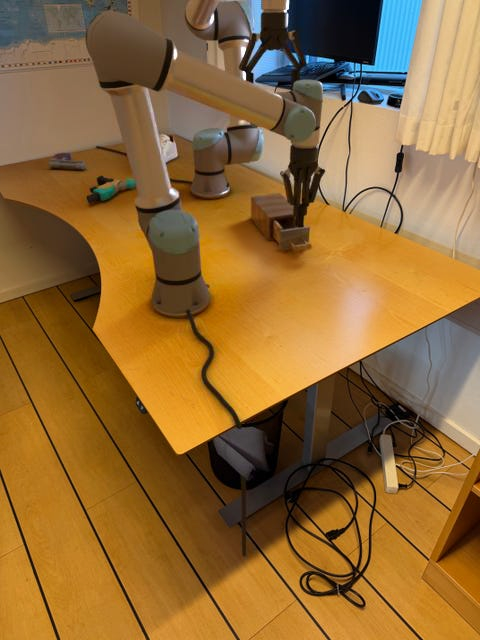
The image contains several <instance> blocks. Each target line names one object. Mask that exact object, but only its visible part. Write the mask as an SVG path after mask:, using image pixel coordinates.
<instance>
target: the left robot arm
mask: <svg viewBox="0 0 480 640" xmlns="http://www.w3.org/2000/svg"><path fill="white" fill-rule="evenodd" d="M84 37H85V39H84V41H85V46H86V50H87V53H88V55H89V56H90V58H91V60H92V63H93V67H94V70H95V74H96V77H97V81H98V84H99V87H100V90H102V91H104V92H105V93H107V94H108V95H109V97H110V101H111V104H112V107H113V111H114V113H115V119H116V121H117V125H118V129H119V132H120V135H121V139H122V141H123V146H124V149H125V153H127V155H126V156H127V160H128V163H129V167H130V170H131V174H132V177H133V179H134V181H135V184H136V186H135V187H136V191H137V196H136V197H135V199H134V205H135V210H136V213H137V218H138V220H137V222H138V225H139V228H140V231H142V233H143V234H144V237H145V239H146V241H147V244H148V246H149V248H150V250H151V254H152V260H153V261H152V262H153V268H154V274H155V275H154V276H155V281H154V284H153V290H152V294H151V305H152V308H153V310H154V311H155V312H156V313H157V314H159V315H160V316H163V317H167V318H171V319H183V318H185V319H186V318H188V320H189V323H190V326H191V329H192V331H193V334H194V335H195V336H196V337H197V338H198V340H200V341H201V342H202V343H203V344H204V345H206V346H207V348H208V350H209V354H208V357H207V359H206V361H205V362H204V364H203V365H202V369H201V380H202V381H203V384H204V385H205V386H206V388H207V389H208V390H209V391H210V392H211V393H212V394H213V395H214V396H215V397H216V398H217V400H218V401H219V402H220V404H221V405H222V406H223V407H224V408H225V409H226V410H227V411H228V413H229V414H230V415H231V417H232V419H233V421H234V424H235V427H236V429H237V430H241V429H243V428H242V427H243V426H242V423H241V420H240V418H239V415H238V414H237V412H236V410H235V409H234V408H233V406H232V405H231V404H230V403H228V401H227V400H226V399H225V398H224V397H223V395H222V394H221V393H220V392H219V391H218V390H217V389H216V388H215V387H214V386H213V385H212V384H211V383H210V381H209V379H208V377H207V370H208V367H209V365H210V364H211V362H212V361H213V359H214V355H215V350H214V346H213V344H212V343H211V341H209V340H208V339H207V338H205V336H203V335H202V334H201V333H200V332H199V330H198V328H197V326H196V323H195V320H194V318H193V317H194V316H196V315H199V314H201V313H202V312H204V311H205V310H207V308H208V307H209V306H210V303H211V294H210V290H209V289H210V286H211V285H210V284H208V283H206V281H205V278H204V277H203V275H202V262H201V261H202V259H201V247H200V246H201V245H200V244H201V243H200V235H201V234H200V228H199V226H198V221H197V219H196V218H195V217H194V216H193V215H192V214H190V213H189V212H184V209H183V205H182V201H181V200H182V199H181V197H180V192H179V190H178V189H176V188H174V187H173V186H172V183H171V180H170V179H169V178H170V176H169V171H168V167H167V162H166V163H165V158H164V154H163V150H162V146H161V142H160V137H159V135H160V133H159V129H158V125H157V122H156V116H155V113H154V108H153V105H152V101H151V100H152V99H151V95H150V92H149V89H150V90H152V91H154V92H156V93H161V92H163V91H164V90H167V91H168V92H172V93H173V94H177V95H180V96H182V97H185V98H187V99H189V100H191V101H195V102H197V103H199V104H202V105H204V106H207V107H210V108H212V109H215V110H217V111H220V112H222V113H225V114H228V115H229V114H230V115H232V116H235V117H237V118H240V119H242V120H245V121H247V122H249V123H250V124H251V125H252V126H253V127H257V128H263V129H265V130H268V131H270V132H272V133H275V134H276V135H279V136H282V137H284V138H286V140H288V141H290V144H291V145H290V149H289V163H288V165H287V168H286V169H285V170H284V171H283V170H282V171H280V172H279V176H280V177H281V178H282V181H283V185H284V191H285V196H286V197H285V198H286V199H287V202H288V203H289V204H290V205H291V206H294V207H293V215H294V216H295V217H296V218H295V225H296V226H297V227H298V228H303V225H304V226H305V224H304V223H305V216H307V215H308V208H309V206H310V204H313V203H314V202H315V200H316V197H317V193H318V190H319V187H320V183H321V180H322V178H323V176H324V175H325V173H326V169H325V168H323V167H322V166H319V163H318V157H319V144H320V133H321V122H322V121H321V120H322V111H323V110H322V109H323V103H324V100H323V99H324V98H323V97H324V85H323V83H322V82H321V81H319V80H315V79H300V80H299V81H296V82H295V83H294V85H293V89H292V90H293V91H291V90H288V91H279V92H278V91H277V92H273V91H271V90H269V89H267V88H264V87H262V86H259V85H257V84H255V83H254V84H253V83H251V82H248V81H246V80H244V79H242V78H240V77H237V76H235V75H233V74H231V73H228V72H226V71H225V69H222V68H220V67H217V66H215V65H213V64H211V63H209V62H206V61H204V60H202V59H200V58H197V57H195V56H193V55H191V54H188V53H186V52H184V51H181V50H180V49H177V47H176V45H175V42H174V41H173V40H171V39H169V38H167V37H165V36H163V35H161V34H159V33H158V32H156V31H154V30H152V29H151V28H149V27H148V26H146V25H145V24H144V23H142V22H141V21H140V20H138V19H137V18H135V17H134V16H132V15H130V14H128V13H126V12H125V11H122V10H119V9H104V10H103V11H102V10H101V11H99V12H97V14H95V15H93V17H92V18H91V20H90V21H89V22H88V24H87V27H86V30H85V36H84ZM291 176H292V177H293V187H292V182H291V179H290V178H291ZM312 176H313V177H312ZM240 494H241V497H240V498H241V555H242V557H246V556H247V477H246V476H241V475H240Z"/></svg>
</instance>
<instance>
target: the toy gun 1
mask: <svg viewBox="0 0 480 640" xmlns="http://www.w3.org/2000/svg"><path fill="white" fill-rule="evenodd" d="M72 158H73V157H72V154H71V152H58V153H55V154H54V155H53V158H50V159H49V162H48V164H47V166H49V168H52V169H62V170H63V169H65V170H78V171H79V170H80V171H84V170H85V167H86V166H87V164H86V162H84V161H83V160H82V161H81V160H72Z"/></svg>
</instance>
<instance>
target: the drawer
mask: <svg viewBox="0 0 480 640" xmlns="http://www.w3.org/2000/svg"><path fill="white" fill-rule="evenodd" d="M295 218H296V217H295V216H294V217H287V218H280V219H273V220H272V227H271V235H272V236H273V237H274V238H275V241H276V242H277V243H278V249H279V250H287V249H292V251H293V252H299V251H305V250H311V249H312V248H313V247H312V243H311V242H310V232H311V227H310V226H309V225H305V224H304V225H303V228H298V227H297V226H296V225H295Z"/></svg>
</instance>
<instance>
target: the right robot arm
mask: <svg viewBox="0 0 480 640" xmlns="http://www.w3.org/2000/svg"><path fill="white" fill-rule="evenodd" d="M289 5H290V0H260V9H261V10H262V12H261V13H260V32H259V33H258V32H257V33H256V32H255V26H256V25H255V18H254V13H253V10H252V7H251V6H250V5H249V3H248V2H247V1H240V0H230V1H229V0H225V1H220V0H188V2H187V4H186V6H185V9H184V22H185V25H186V26H187V28H188V31H190V32H191V34H193V35H194V36H195V37H196V38H199V39H200V40H203V41H207V42H208V41H209V42H213V41H217V45H218V48H219V50H221V51H222V54H223V63H224V64H223V65H224V71H226V72H228V73H231V74H233V75H235V76H237V77H240V78H242V79H244V80H246V81H248V82H251V83H253V84H255V83H254V81H255V73H254V72H252V71H253V70H254V68H255V67H256V66H257V64H258V62H259V61H260V60H261V59H262V58H263V56H264V54H265V53H266V52H267V51H269V52H271V51H275V50H276V51H280V50H281V51H282V52H283V53H284V55H285V56H286V58H287V59H288V60H289V62H290V64H291V65H292V66H293V68H292V69H291V75H290V76H291V77H290V91H293V90H292V89H293V85H294V83H295V82H296V81H300V80H301V71H302V70H303V68H306V67H307V66H308V62H307V60H306V58H305V55H304V52H303V49H302V46H301V43H300V40H299V32H298V31H297V30H293V29H292V30H291V31H288V30H289V29H288V27H289V13H288V11H287V10H289V7H290V6H289ZM288 39H289V40H290V41H291V44H292V47H293V50H294V52H295V55H296V57H295V55H294V53H293V52H292V51H291V49H290V47H289V46H288V44H287V41H288ZM259 41H260V42H261V43H260V44H259V46H258V48H257V50H256V51H255V52H254V49H255V46H256V43H257V42H259ZM253 52H254V55H253V56H252V53H253ZM250 58H251V59H250ZM228 116H229V123H228V125H227V126H226V131H225V132H224V130H223V129H222V128H220V127H211V128H210V127H209V128H205V129H202V130H199V131H197V132H196V133H195V134H194V135H193V137H192V150H193V151H192V152H193V164H194V165H193V167H194V175H193V180H192V181H191V180H185V179H177V178H175V179H174V178H171V177H169V179H170V182H175V183H185V184H191V187H190V188H191V189H190V190H191V195H192V196H194V197H195V198H197V199H202V200H218V199H221V198H225V197H227V196H228V195H229V194H230V193H231V186H230V183H229V181H228V177H227V174H226V170H225V166H227V165H238V164H250V163H255V162H257V161H259V160H260V159H261V157H262V155H263V151H264V145H265V143H264V134H263V133H264V132H263V130H262V129H260V128H258V127H253V126H252V125H251V124H250V123H249V122H247V121H245V120H242V119H240V118H237V117H235V116H232V115H230V114H228ZM95 147H96V148H98V149H103V150H107V151H110V152H115V153H118V154H122V155H125V156H127V153H126V152H124V151H122V150H118V149H113V148H109V147H105V146H100V145H96V146H95Z"/></svg>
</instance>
